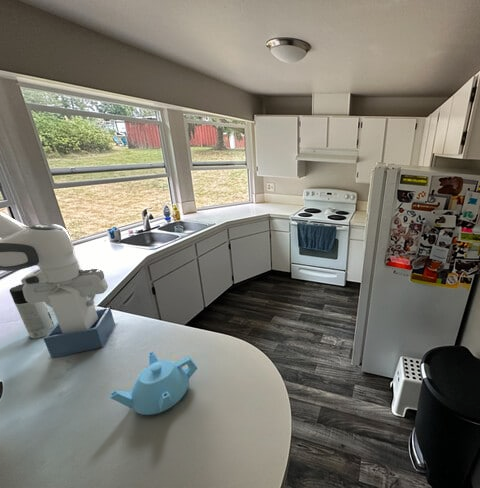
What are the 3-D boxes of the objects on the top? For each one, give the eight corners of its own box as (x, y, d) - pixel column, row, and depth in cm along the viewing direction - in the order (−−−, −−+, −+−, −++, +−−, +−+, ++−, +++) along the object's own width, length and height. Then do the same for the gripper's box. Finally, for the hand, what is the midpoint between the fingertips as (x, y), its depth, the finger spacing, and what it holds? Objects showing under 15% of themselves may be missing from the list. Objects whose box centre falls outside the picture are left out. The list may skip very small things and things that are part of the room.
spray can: (60, 329, 96) (42, 283, 90) (37, 340, 90) (16, 292, 84) (48, 325, 98) (29, 280, 91) (24, 337, 92) (3, 289, 85)
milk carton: (62, 334, 85) (43, 285, 79) (75, 321, 92) (59, 275, 85) (87, 331, 87) (70, 282, 81) (98, 318, 94) (84, 273, 87)
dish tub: (51, 358, 83) (43, 338, 80) (70, 332, 95) (64, 314, 92) (102, 347, 88) (96, 328, 86) (115, 324, 100) (110, 307, 97)
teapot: (170, 425, 64) (163, 394, 61) (114, 420, 65) (104, 389, 61) (201, 376, 79) (197, 348, 75) (155, 372, 79) (149, 345, 76)
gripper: (105, 264, 89) (114, 297, 94) (26, 272, 81) (41, 308, 86) (98, 271, 84) (108, 306, 88) (13, 281, 76) (29, 319, 80)
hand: (74, 307), depth 87 cm, fingers closed on milk carton, 7 cm apart
